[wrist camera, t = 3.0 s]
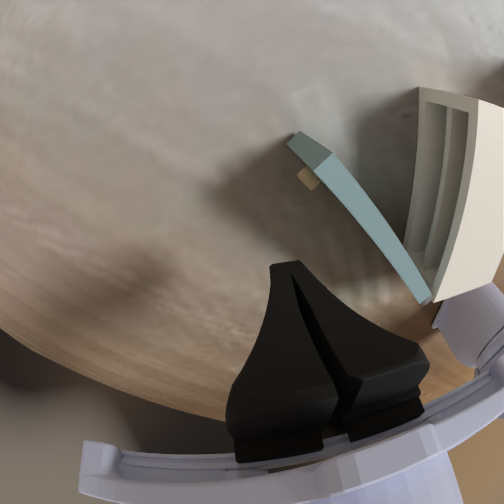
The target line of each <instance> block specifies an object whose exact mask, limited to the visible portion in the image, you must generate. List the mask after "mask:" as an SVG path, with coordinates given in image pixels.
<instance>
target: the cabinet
mask: <svg viewBox="0 0 504 504" xmlns="http://www.w3.org/2000/svg"><path fill="white" fill-rule="evenodd" d="M403 247H404V248H405V250H406V252H407V253H408V255H409V256H410V258H411V260H412V261H413V263H414V264H415V266H416V268H417V269H418V271H419V273H420V274H421V276H422V278H423V280H424V281H425V283H426V285H427V287H428V288H429V290H430V292H431V294H432V299H431V300H432V302H433V303H435V302H438V301H441V300H444V299H447V298H450V297H453V296H456V295H459V294H462V293H464V292H467V291H470V290H473V289H475V288H478V287H481V286H483V285H486V284H488V283H491V281H492V279H493V277H494V275H495V272H496V270H497V268H498V265H499V263H500V260H501V258H502V255H503V253H504V108H502V107H499V106H497V105H494V104H491V103H488V102H485V101H482V100H479V99H476V98H472V97H468V96H464V95H460V94H455V93H451V92H446V91H441V90H436V89H430V88H424V87H419V121H418V141H417V154H416V164H415V173H414V182H413V189H412V196H411V203H410V209H409V215H408V220H407V226H406V231H405V236H404V240H403Z"/></svg>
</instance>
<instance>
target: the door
mask: <svg viewBox="0 0 504 504" xmlns="http://www.w3.org/2000/svg"><path fill="white" fill-rule="evenodd" d="M286 144H287V145H288V146H289V147H290V148H291V149H292V150H293V151H294V152H295V153H296V154H297V155H298V156H299V157H300V158H301V160H302V161H303V162H304V163H305V164H306V166H305V167H304V168H303V169H302V170H301V171H300V172H299V173H297V174H296V175H297V177H298V178H299V179H300V180H301V181H302V182H303V183H304V184H305V185H306V186H307V187H308V188H309V189H310V190H311V191H312V190H313V189H315V188H316V187H317V186H318V185H319V184H320V183H321V182H323V183H324V184H325V185H326V186H327V187H328V188H329V189H330V190H331V192H332V193H333V194H334V195H335V196H336V197H337V198H338V199H339V201H340V202H341V203H342V204H343V205H344V206H345V207H346V209H347V210H348V211H349V212H350V213H351V215H352V216H353V217H354V218H355V219H356V220H357V222H358V223H359V224H360V225H361V226H362V228H363V229H364V230H365V231H366V233H367V234H368V235H369V236H370V238H371V239H372V240H373V241H374V243H375V244H376V245H377V246H378V248H379V249H380V250H381V252H382V253H383V254H384V255H385V257H386V258H387V259H388V261H389V262H390V263H391V265H392V266H393V267H394V269H395V270H396V271H397V273H398V274H399V275H400V277H401V278H402V280H403V281H404V282H405V284H406V285H407V287H408V288H409V289H410V291H411V292H412V294H413V295H414V297H415V298H416V299H417V301H418V302H419V304H420V305H421V306H424V305H426V304H428V303H429V302H430V301H431V299H432V294H431V292H430V290H429V288H428V287H427V285H426V283H425V281H424V280H423V278H422V276H421V274H420V273H419V271H418V269H417V268H416V266H415V264H414V263H413V261H412V260H411V258H410V256H409V255H408V253H407V252H406V250H405V248H404V247H403V245H402V244H401V242H400V241H399V239H398V238H397V236H396V235H395V233H394V232H393V230H392V229H391V227H390V226H389V224H388V223H387V222H386V220H385V219H384V217H383V216H382V214H381V213H380V212H379V210H378V209H377V208H376V206H375V205H374V203H373V202H372V201H371V199H370V198H369V197H368V195H367V194H366V193H365V192H364V190H363V189H362V188H361V186H360V185H359V184H358V182H357V181H356V180H355V179H354V177H353V176H352V175H351V174H350V172H349V171H348V170H347V169H346V168H345V166H344V165H343V164H342V163H341V162H340V160H339V159H338V158H337V157H336V156H335V155H334V153H333V152H331V151H330V150H328V149H327V148H325V147H324V146H322V145H321V144H319V143H318V142H316V141H315V140H313V139H312V138H310V137H309V136H307V135H305V134H304V133H302V132H301V131H299V132H298V133H297V134H296V135H295V136H294V137H293V138H292V139H291V140H290V141H289V142H287V143H286Z"/></svg>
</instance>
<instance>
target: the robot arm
mask: <svg viewBox="0 0 504 504" xmlns="http://www.w3.org/2000/svg"><path fill="white" fill-rule="evenodd" d="M269 268H270V280H271V286H270V294H269V300H268V305H267V309H266V313H265V317H264V320H263V324H262V327H261V330H260V332H259V335H258V337H257V340H256V343H255V345H254V347H253V349H252V351H251V353H250V355H249V357H248V359H247V361H246V363H245V365H244V367H243V369H242V370H241V372H240V373H239V375H238V377H237V378H236V380H235V381H234V383H233V384H232V387H231V391H230V394H229V398H228V401H227V406H226V415H225V417H226V428H227V431H228V433H229V434H230V436H231V437H232V439H233V440H234V451H235V453H231V454H211V455H171V454H152V453H140V452H131V451H122V450H120V449H119V448H117V447H116V446H114V445H111V444H107V443H103V442H97V441H91V440H84V443H83V450H82V457H81V465H80V475H79V486H78V487H79V488H78V491H79V492H80V493H82V494H86V495H89V496H93V497H96V498H99V499H103V500H107V501H111V502H115V503H119V504H464V503H463V500H462V496H461V493H460V490H459V486H458V483H457V480H456V477H455V474H454V471H453V468H452V465H451V462H450V459H449V456H448V454H447V451H449V450H451V449H452V448H454V447H456V446H457V445H459V444H460V443H462V442H463V441H465V440H467V439H468V438H470V437H471V436H473V435H474V434H475V433H477V432H478V431H480V430H481V429H482V428H484V427H485V426H487V425H488V424H489V423H491V422H492V421H494V420H495V419H496V418H497V419H504V295H503V294H502V293H501V291H500V290H499V289H498V288H497V287H496V286H495V284H494V283H493V282H492V281H491V283H488V284H486V285H483V286H481V287H478V288H475V289H473V290H470V291H467V292H464V293H462V294H459V295H456V296H453V297H450V298H447V299H444V301H443V303H442V305H441V307H440V309H439V312H438V314H437V316H436V318H435V320H434V322H433V324H432V328H433V329H435V328H438V329H439V331H440V332H441V334H442V335H443V337H444V339H445V340H446V342H447V344H448V345H449V347H450V349H451V350H452V352H453V354H454V355H455V357H456V358H457V360H458V361H459V362H460V363H461V364H463V365H465V366H467V367H477V368H476V369H475V372H474V379H472V380H471V381H469V382H467V383H465V384H464V385H462V386H460V387H458V388H456V389H455V390H453V391H451V392H449V393H447V394H445V395H443V396H441V397H439V398H437V399H435V400H433V401H431V402H429V403H427V404H424V405H422V403H421V401H420V398H419V395H420V394H421V391H420V389H419V387H418V385H419V383H420V382H421V381H422V379H423V378H424V377H425V375H426V374H427V372H428V370H429V367H430V363H429V361H428V359H427V357H426V355H425V354H424V352H423V350H422V349H421V347H420V346H419V344H418V343H415V342H413V341H410V340H408V339H405V338H402V337H400V336H397V335H395V334H393V333H391V332H389V331H387V330H385V329H383V328H381V327H379V326H377V325H375V324H374V323H372V322H370V321H369V320H367V319H365V318H364V317H362V316H360V315H359V314H357V313H356V312H355V311H353V310H352V309H351V308H349V307H348V306H347V305H345V304H344V303H343V302H342V301H340V300H339V299H338V298H337V297H336V296H335V295H333V294H332V293H331V292H330V291H329V290H328V289H327V288H326V287H325V286H324V285H323V284H322V283H321V282H320V281H319V280H318V279H317V278H316V277H315V276H314V275H313V274H312V273H311V272H310V271H309V270H308V269H307V268H306V266H305V265H304V264H303V263H302V262H301V261H300V260H296V261H290V262H283V263H276V264H272V265H271V266H270V267H269ZM405 431H406V432H405ZM402 432H404V433H402ZM400 433H402V434H400ZM398 434H399V435H398ZM395 435H397V436H395ZM393 436H394V437H393ZM390 437H392V438H390ZM388 438H390V439H388ZM385 439H387V440H385ZM382 440H384V441H382ZM379 441H382V442H379ZM377 442H379V443H377ZM374 443H376V444H374ZM371 444H373V445H371ZM368 445H370V446H368ZM365 446H367V447H365ZM362 447H364V448H362ZM359 448H361V449H359ZM356 449H358V450H356ZM352 450H355V451H352ZM349 451H351V452H349ZM346 452H348V453H346ZM342 453H345V454H342ZM338 454H342V455H339V456H336V457H334V458H331V459H328V460H326V461H323V462H319V463H316V464H312V465H308V466H304V467H300V468H296V469H292V470H287V471H283V472H277V473H272V474H268V471H267V470H261V469H268V468H275V467H282V466H289V465H294V464H300V463H305V462H309V461H314V460H318V459H323V458H326V457H331V456H334V455H338Z"/></svg>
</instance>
